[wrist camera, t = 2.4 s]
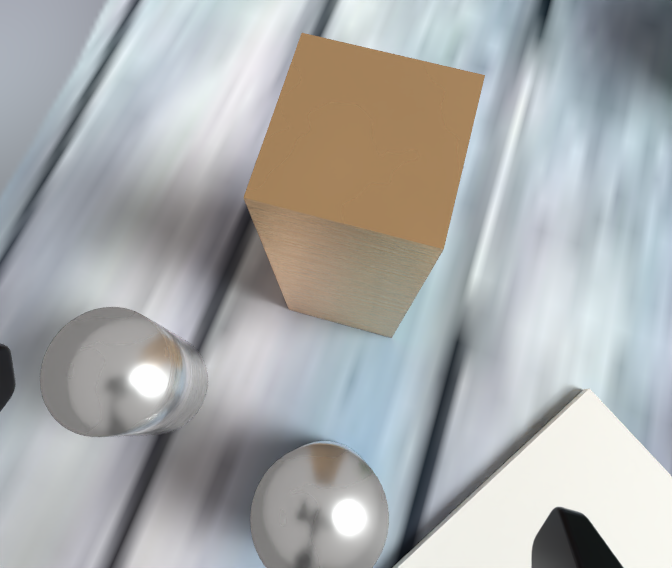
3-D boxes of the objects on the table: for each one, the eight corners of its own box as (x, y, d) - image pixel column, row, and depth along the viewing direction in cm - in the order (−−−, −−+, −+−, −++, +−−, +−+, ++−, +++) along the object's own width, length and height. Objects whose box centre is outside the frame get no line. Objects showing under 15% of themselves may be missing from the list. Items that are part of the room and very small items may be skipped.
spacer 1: (144, 457, 20) (84, 465, 16) (89, 376, 21) (15, 360, 16) (227, 390, 21) (194, 378, 16) (170, 314, 22) (123, 282, 17)
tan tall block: (391, 337, 22) (443, 249, 11) (289, 309, 22) (243, 197, 11) (416, 240, 23) (484, 75, 12) (318, 215, 23) (301, 33, 12)
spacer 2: (316, 577, 19) (308, 627, 14) (250, 488, 20) (222, 506, 15) (398, 503, 20) (417, 527, 15) (331, 419, 21) (329, 416, 16)
